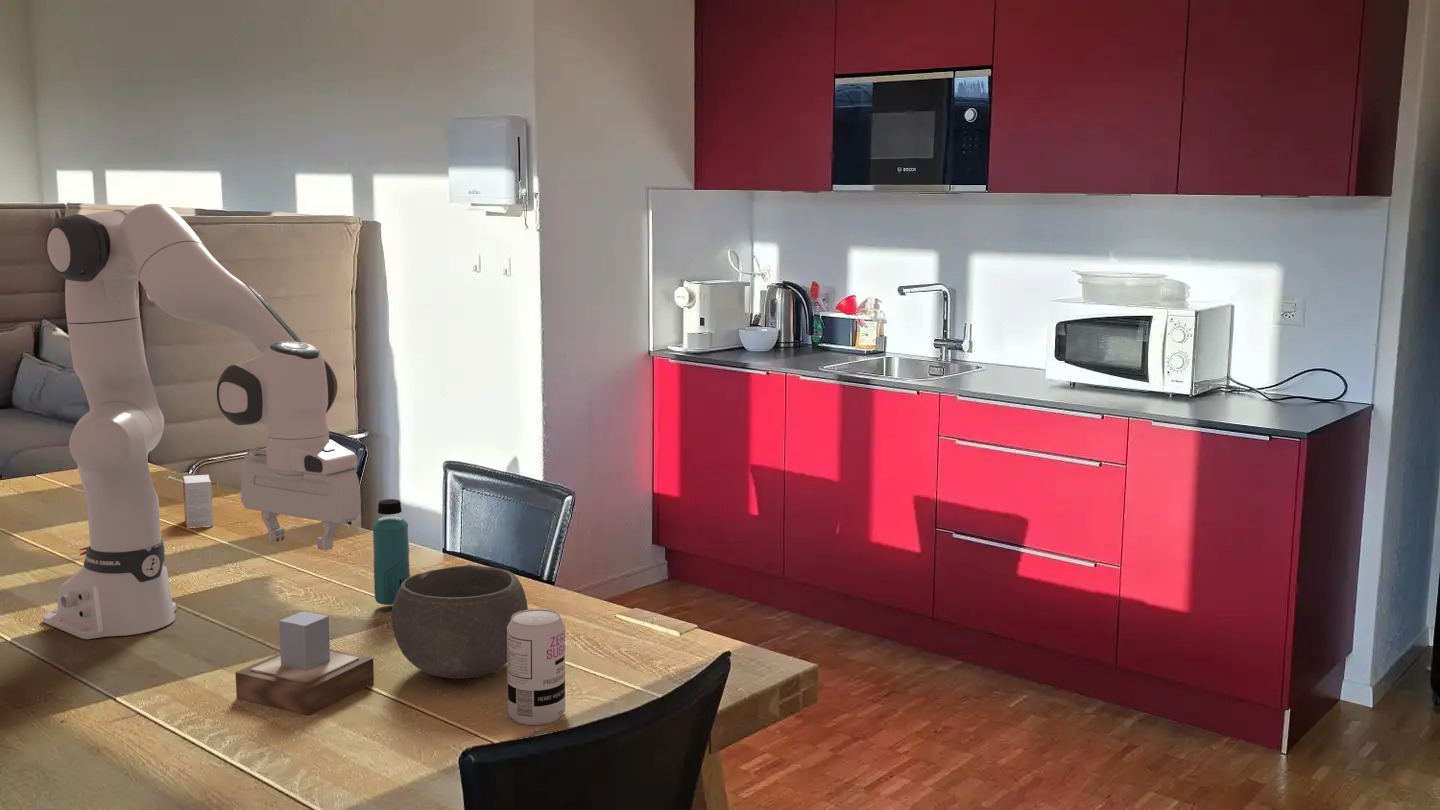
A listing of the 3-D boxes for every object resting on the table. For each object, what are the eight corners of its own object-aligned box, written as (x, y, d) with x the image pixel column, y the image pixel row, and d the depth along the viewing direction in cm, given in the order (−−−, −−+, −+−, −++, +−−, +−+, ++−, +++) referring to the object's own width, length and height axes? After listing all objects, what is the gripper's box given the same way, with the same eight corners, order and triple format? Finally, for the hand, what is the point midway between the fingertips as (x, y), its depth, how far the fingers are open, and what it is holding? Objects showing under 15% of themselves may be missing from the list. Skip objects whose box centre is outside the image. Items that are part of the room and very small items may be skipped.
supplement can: (510, 705, 188) (509, 608, 186) (566, 704, 189) (565, 607, 187) (505, 727, 180) (504, 626, 178) (564, 726, 181) (563, 625, 179)
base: (236, 697, 189) (235, 670, 188) (304, 667, 202) (303, 641, 201) (309, 715, 183) (308, 687, 183) (373, 682, 196) (373, 656, 195)
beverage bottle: (401, 614, 228) (399, 505, 224) (367, 611, 229) (364, 503, 226) (417, 603, 234) (415, 497, 231) (383, 600, 235) (381, 495, 232)
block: (280, 665, 191) (279, 620, 190) (304, 654, 195) (303, 611, 194) (306, 671, 189) (304, 625, 187) (330, 660, 193) (328, 616, 192)
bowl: (463, 708, 187) (462, 610, 184) (363, 678, 198) (361, 585, 195) (555, 665, 204) (555, 575, 202) (459, 639, 215) (457, 554, 213)
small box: (184, 521, 289) (182, 475, 287) (211, 518, 291) (209, 473, 289) (186, 529, 281) (183, 483, 280) (213, 527, 284) (211, 481, 282)
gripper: (228, 449, 188) (232, 540, 190) (336, 464, 179) (338, 559, 182) (260, 442, 194) (263, 530, 196) (366, 457, 185) (368, 548, 187)
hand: (300, 544), depth 189 cm, fingers open, 8 cm apart
